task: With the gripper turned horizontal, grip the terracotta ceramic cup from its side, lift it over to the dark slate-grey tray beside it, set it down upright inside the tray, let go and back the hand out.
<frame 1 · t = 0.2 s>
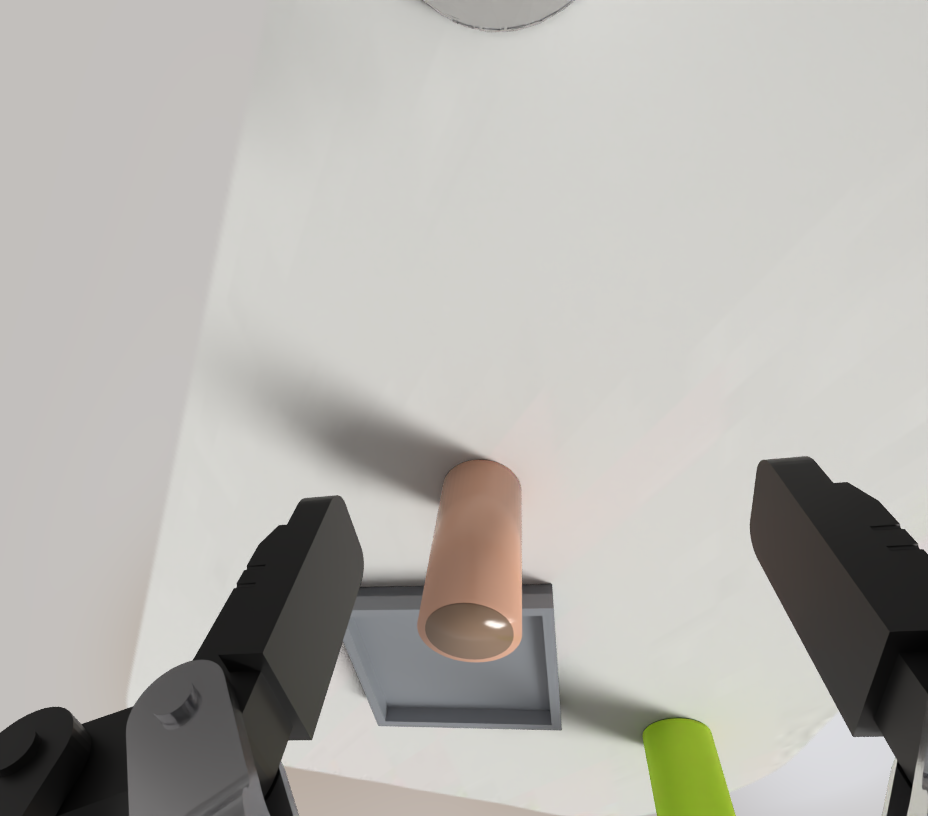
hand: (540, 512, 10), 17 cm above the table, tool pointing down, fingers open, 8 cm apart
tray: (457, 651, 43), on the table
soap dispenser: (674, 735, 47), on the table
cup: (481, 490, 33), on the table
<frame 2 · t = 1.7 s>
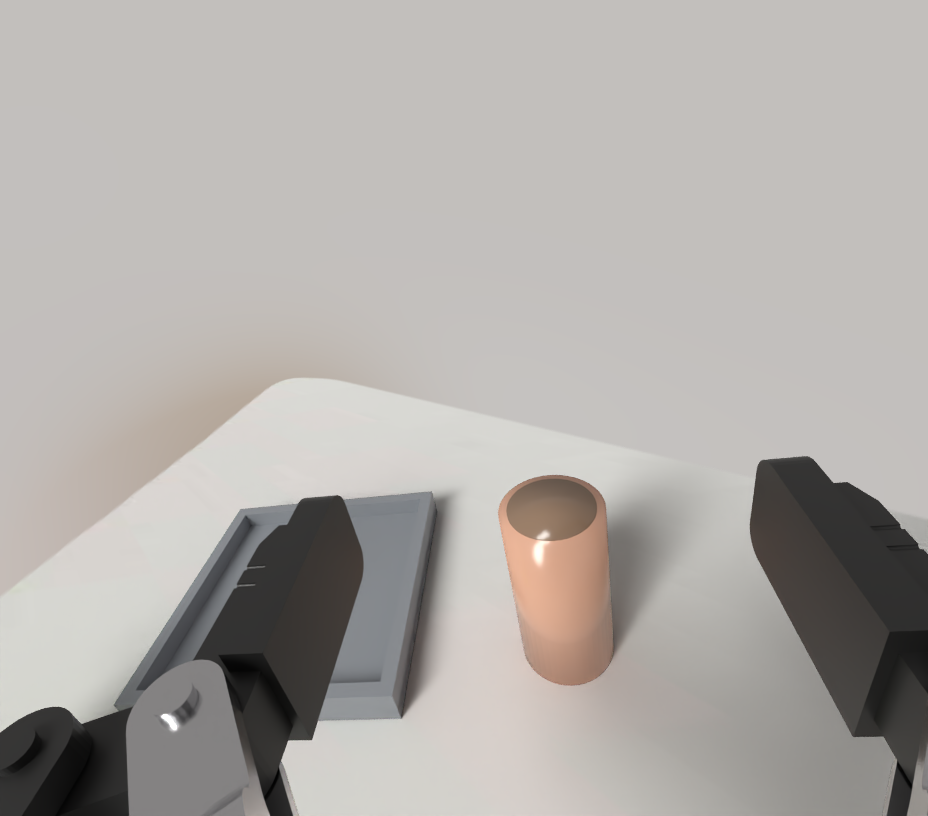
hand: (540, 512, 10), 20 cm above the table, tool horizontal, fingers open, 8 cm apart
tray: (308, 601, 36), on the table
cup: (567, 642, 30), on the table
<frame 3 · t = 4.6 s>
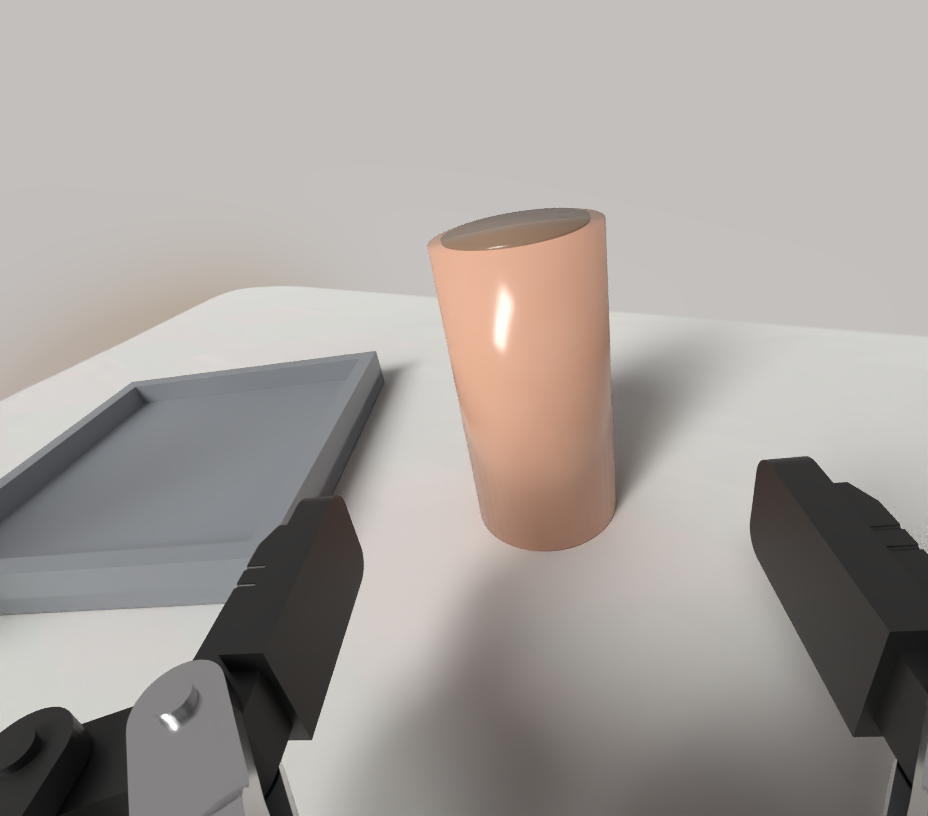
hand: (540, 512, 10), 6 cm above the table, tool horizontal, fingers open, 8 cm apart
tray: (193, 474, 26), on the table
cup: (546, 501, 20), on the table
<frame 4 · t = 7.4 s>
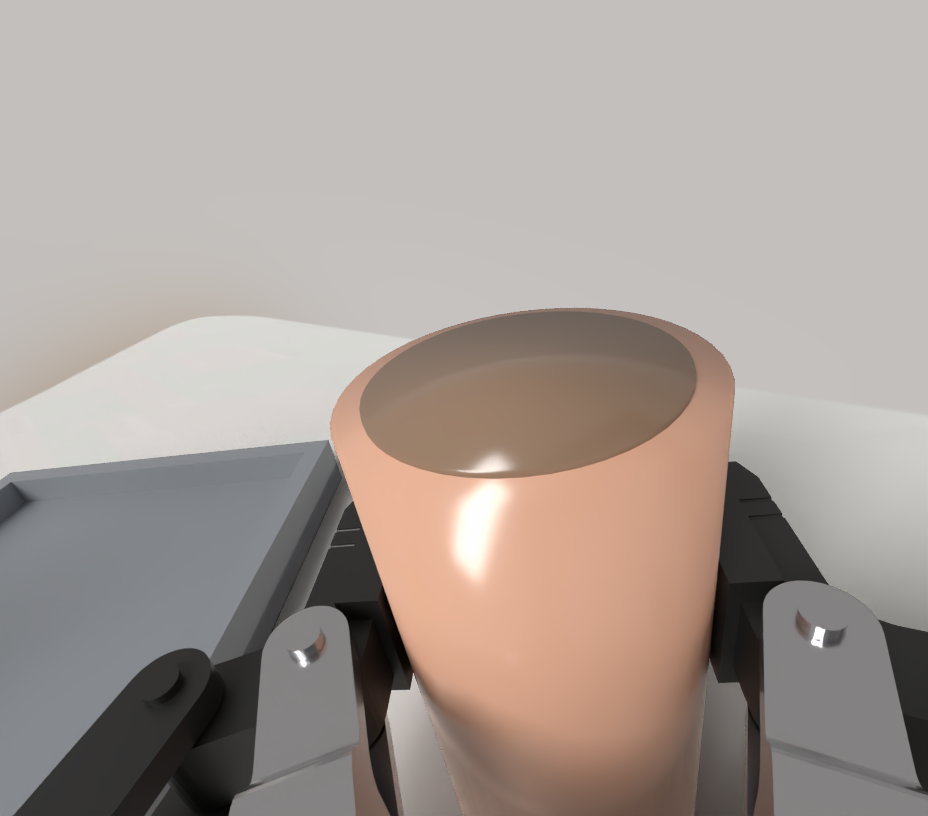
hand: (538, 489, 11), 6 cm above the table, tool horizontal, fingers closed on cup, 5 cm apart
tray: (51, 643, 18), on the table
cup: (571, 774, 12), on the table, touching gripper
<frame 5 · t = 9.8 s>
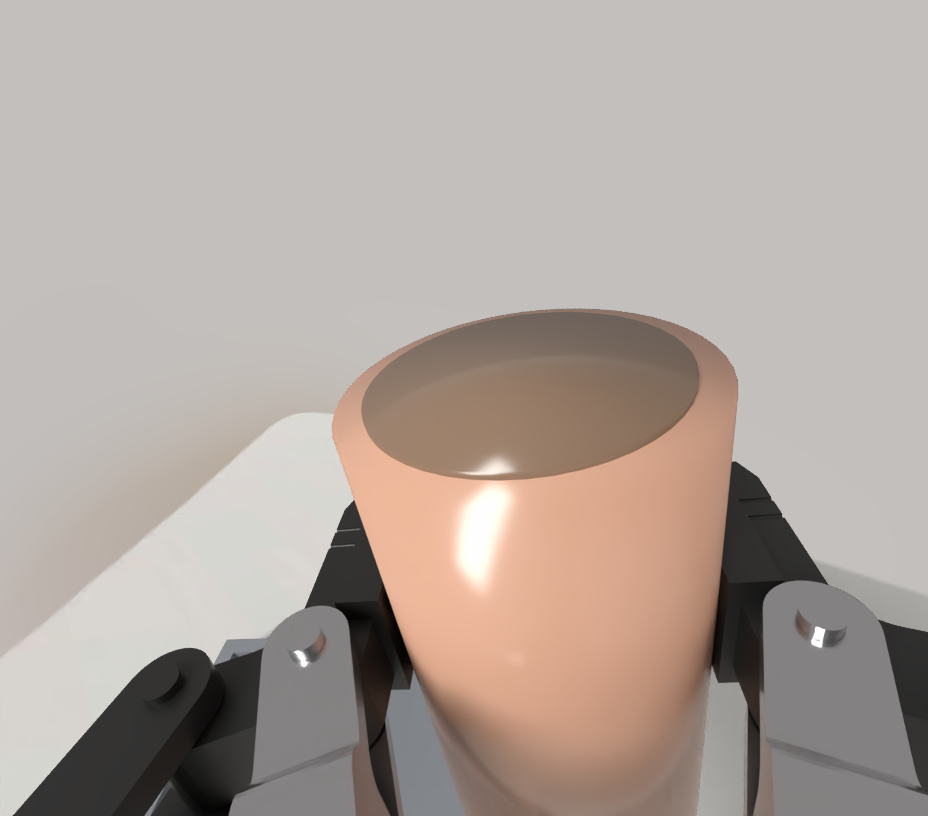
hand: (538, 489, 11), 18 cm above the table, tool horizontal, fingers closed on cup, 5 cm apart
cup: (573, 776, 12), point 12 cm above the table, touching gripper
when the fingers open (9 cm above the table, at t = 12.6 s): cup drops 2 cm, resting on tray.
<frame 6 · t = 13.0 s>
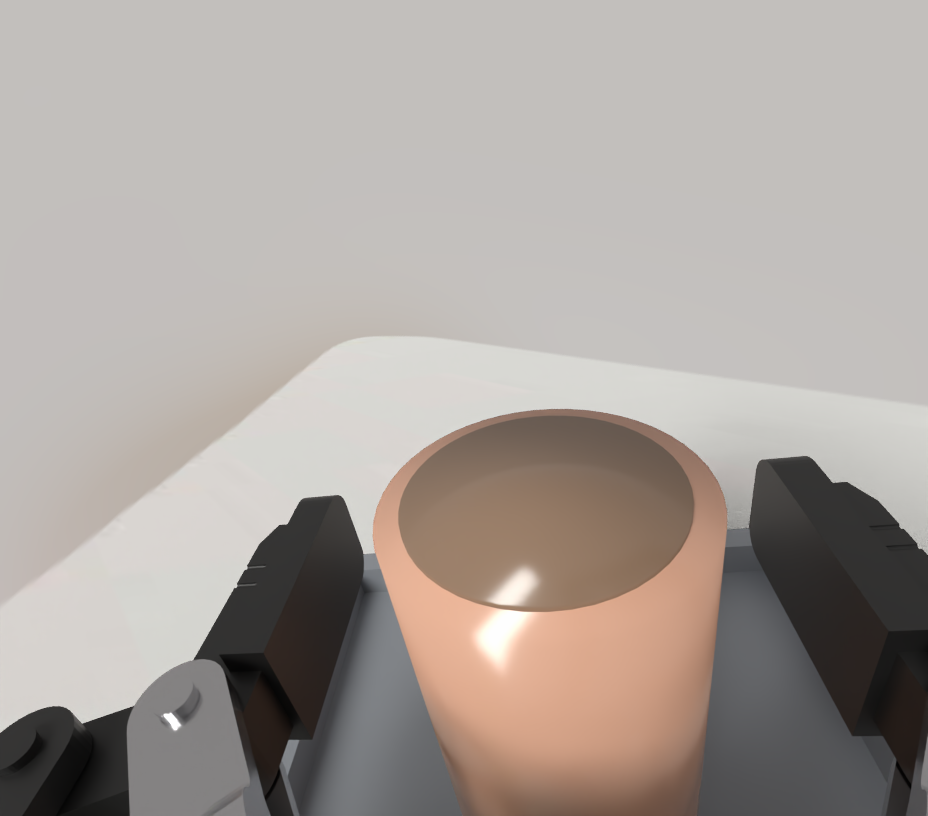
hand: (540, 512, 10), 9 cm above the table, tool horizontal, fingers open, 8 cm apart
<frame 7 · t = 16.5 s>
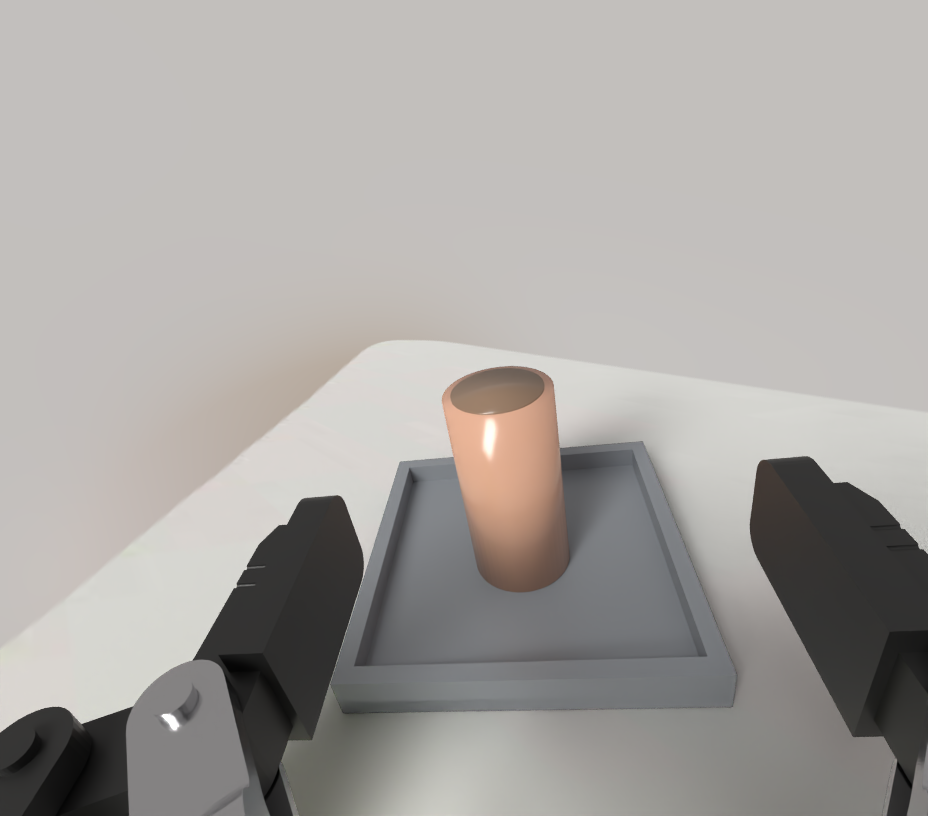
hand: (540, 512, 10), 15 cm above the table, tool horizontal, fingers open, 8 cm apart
tray: (523, 564, 29), on the table
cup: (522, 555, 28), point 1 cm above the table, touching tray
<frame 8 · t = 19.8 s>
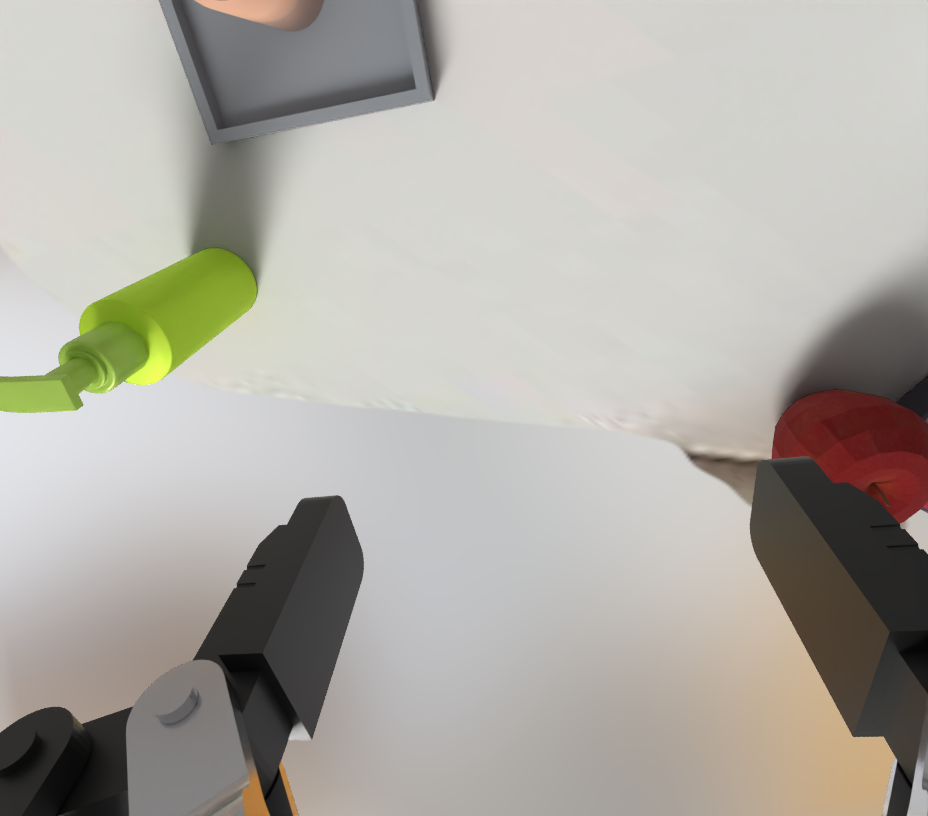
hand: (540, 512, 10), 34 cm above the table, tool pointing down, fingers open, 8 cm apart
apple: (809, 417, 47), on the table
soap dispenser: (218, 282, 45), on the table
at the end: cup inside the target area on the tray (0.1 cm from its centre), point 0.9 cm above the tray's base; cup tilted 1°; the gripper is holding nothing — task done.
